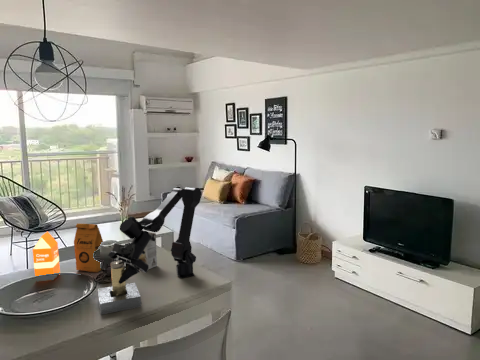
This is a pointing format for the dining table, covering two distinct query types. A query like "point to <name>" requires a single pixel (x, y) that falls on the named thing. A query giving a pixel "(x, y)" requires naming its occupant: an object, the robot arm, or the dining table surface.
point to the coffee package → (87, 247)
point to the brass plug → (118, 278)
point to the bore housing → (118, 299)
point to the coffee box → (150, 253)
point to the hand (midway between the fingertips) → (115, 281)
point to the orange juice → (46, 256)
